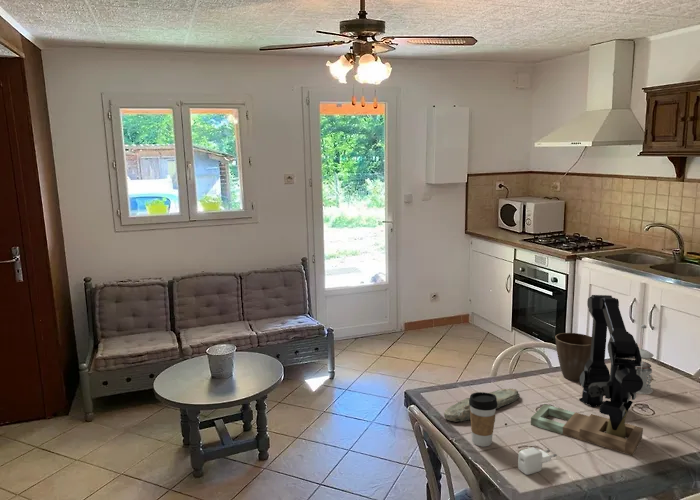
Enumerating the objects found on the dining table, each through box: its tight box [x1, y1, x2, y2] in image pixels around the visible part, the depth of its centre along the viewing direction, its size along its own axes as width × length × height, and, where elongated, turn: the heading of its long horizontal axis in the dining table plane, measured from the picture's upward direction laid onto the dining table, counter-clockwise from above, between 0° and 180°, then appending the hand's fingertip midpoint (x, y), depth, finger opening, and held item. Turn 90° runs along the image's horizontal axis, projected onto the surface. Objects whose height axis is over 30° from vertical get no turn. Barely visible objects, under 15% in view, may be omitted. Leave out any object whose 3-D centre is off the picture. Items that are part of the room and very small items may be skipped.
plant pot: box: [555, 332, 592, 382], centre depth 215 cm, size 15×15×16 cm
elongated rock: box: [443, 388, 521, 423], centre depth 191 cm, size 35×5×10 cm
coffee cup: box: [469, 391, 498, 447], centre depth 167 cm, size 8×8×15 cm
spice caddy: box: [530, 403, 644, 456], centre depth 174 cm, size 30×12×4 cm, turn 51°
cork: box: [605, 409, 628, 439], centre depth 167 cm, size 6×6×11 cm
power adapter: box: [517, 446, 557, 476], centre depth 154 cm, size 11×5×6 cm, turn 114°
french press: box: [635, 324, 654, 395], centre depth 202 cm, size 10×12×25 cm
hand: (616, 426), depth 168 cm, fingers closed on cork, 4 cm apart
